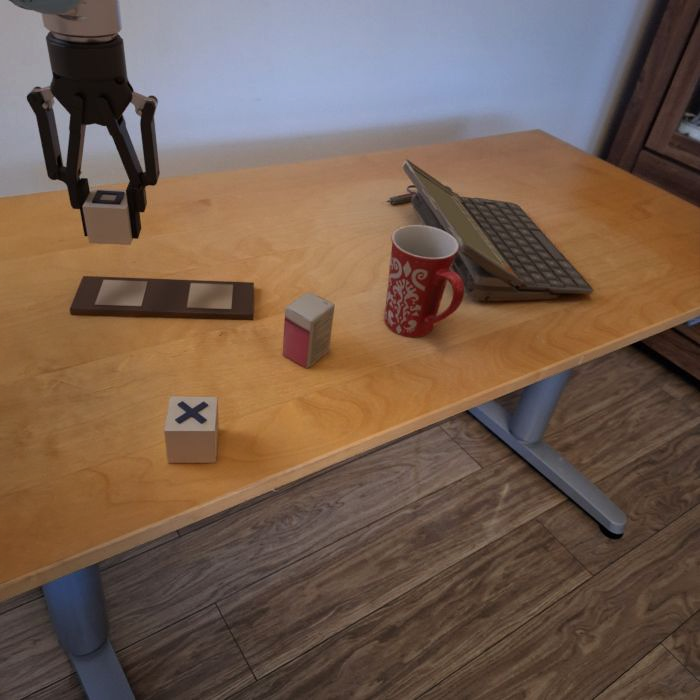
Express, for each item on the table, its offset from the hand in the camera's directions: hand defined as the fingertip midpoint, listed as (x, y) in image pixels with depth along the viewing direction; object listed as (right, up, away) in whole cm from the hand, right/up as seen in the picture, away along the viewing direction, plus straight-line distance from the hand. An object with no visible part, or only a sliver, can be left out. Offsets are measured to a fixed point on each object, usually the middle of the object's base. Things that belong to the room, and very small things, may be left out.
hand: (113, 231), depth 79 cm
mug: (+39, -12, +10) cm, 43 cm away
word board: (+4, -8, +8) cm, 12 cm away
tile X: (+13, -25, -11) cm, 31 cm away
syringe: (+43, +14, +43) cm, 63 cm away
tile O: (0, 0, 0) cm, 0 cm away
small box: (+24, -16, +3) cm, 29 cm away
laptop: (+54, +2, +30) cm, 62 cm away
